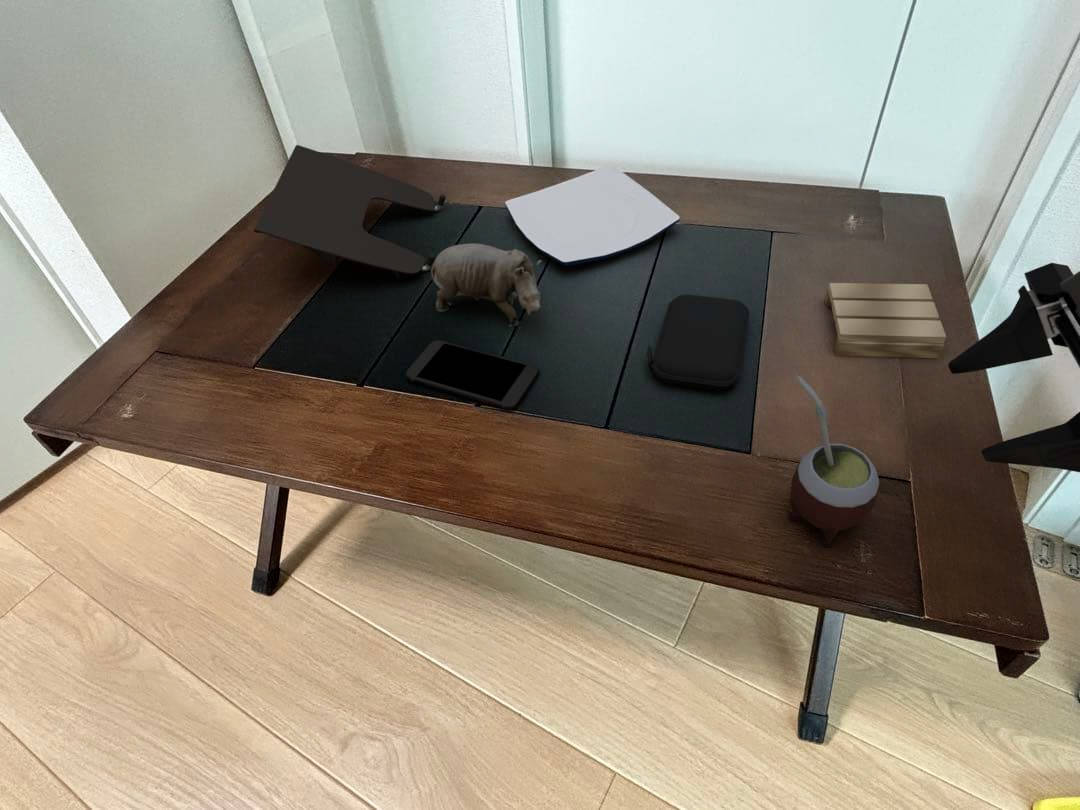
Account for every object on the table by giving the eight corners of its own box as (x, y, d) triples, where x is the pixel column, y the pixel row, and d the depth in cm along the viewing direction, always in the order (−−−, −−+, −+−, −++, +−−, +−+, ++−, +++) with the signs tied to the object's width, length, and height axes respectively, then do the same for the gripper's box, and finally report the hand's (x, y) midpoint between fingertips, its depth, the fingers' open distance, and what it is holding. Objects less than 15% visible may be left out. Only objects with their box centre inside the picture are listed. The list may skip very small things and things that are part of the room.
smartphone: (434, 341, 89) (433, 335, 89) (542, 370, 84) (542, 364, 83) (402, 380, 85) (400, 375, 84) (514, 414, 80) (513, 408, 79)
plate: (689, 235, 101) (691, 218, 99) (562, 285, 95) (560, 268, 93) (614, 175, 114) (613, 159, 112) (498, 216, 108) (495, 200, 106)
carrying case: (662, 304, 91) (639, 385, 81) (663, 285, 88) (639, 365, 79) (749, 314, 88) (735, 399, 78) (752, 295, 86) (738, 379, 76)
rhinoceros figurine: (443, 258, 97) (480, 193, 85) (523, 319, 99) (571, 265, 87) (412, 295, 94) (446, 233, 81) (495, 359, 95) (542, 308, 83)
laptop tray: (415, 321, 102) (433, 271, 96) (248, 272, 96) (255, 216, 90) (432, 231, 118) (448, 183, 112) (289, 184, 112) (298, 131, 106)
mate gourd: (869, 553, 64) (919, 445, 53) (778, 549, 65) (808, 442, 54) (854, 486, 69) (896, 375, 58) (770, 483, 70) (796, 374, 60)
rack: (919, 302, 87) (926, 282, 85) (938, 358, 80) (947, 338, 78) (824, 300, 88) (829, 281, 86) (835, 355, 82) (840, 335, 80)
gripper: (1139, 166, 50) (903, 266, 58) (1300, 347, 37) (969, 443, 45) (1162, 276, 56) (945, 353, 64) (1307, 465, 43) (1014, 531, 51)
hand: (965, 410), depth 56 cm, fingers open, 9 cm apart
